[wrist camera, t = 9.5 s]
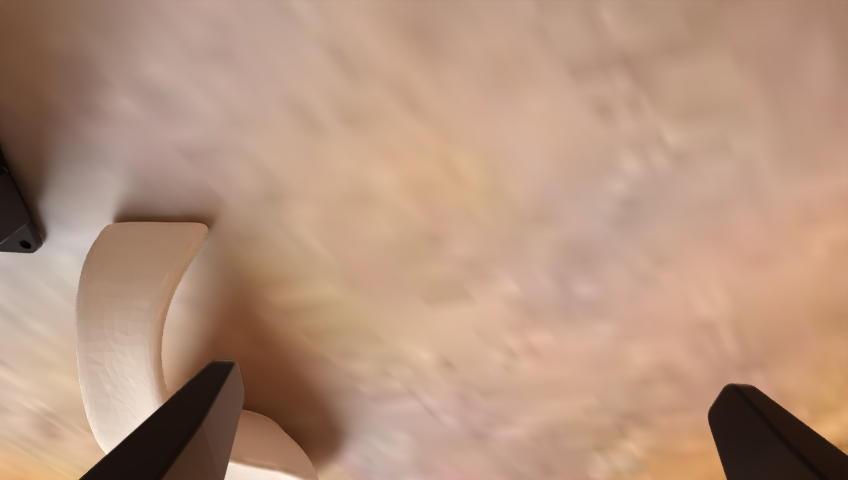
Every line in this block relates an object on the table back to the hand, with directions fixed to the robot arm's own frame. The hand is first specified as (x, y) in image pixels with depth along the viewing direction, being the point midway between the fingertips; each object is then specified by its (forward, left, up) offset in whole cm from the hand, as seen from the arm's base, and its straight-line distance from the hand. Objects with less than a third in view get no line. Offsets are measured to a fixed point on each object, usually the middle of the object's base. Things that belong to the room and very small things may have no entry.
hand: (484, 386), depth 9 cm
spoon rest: (-12, -17, -14) cm, 25 cm away
